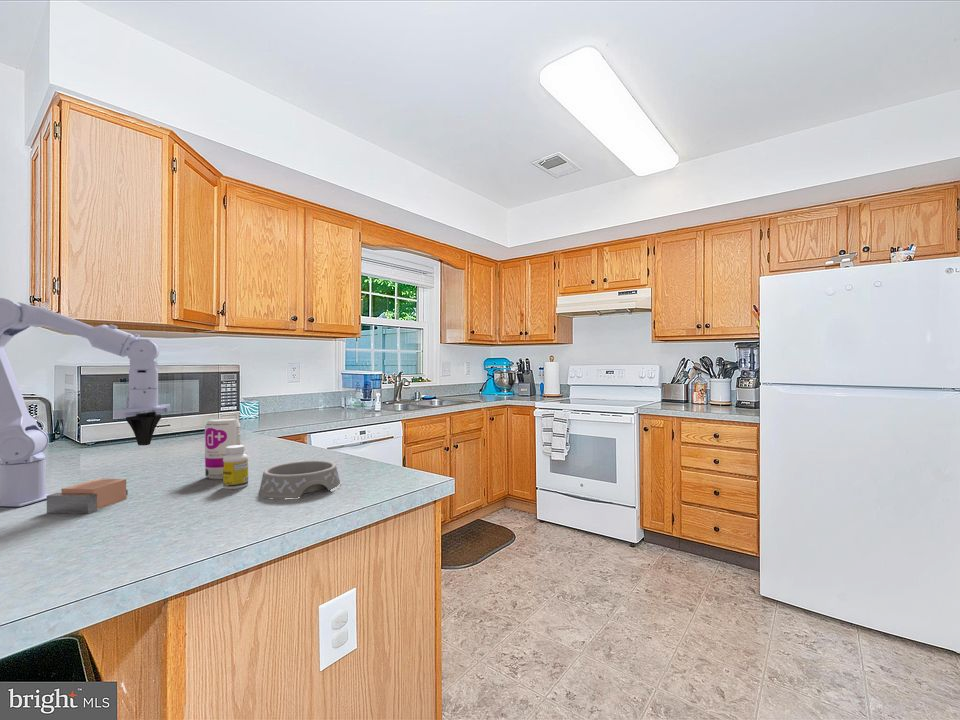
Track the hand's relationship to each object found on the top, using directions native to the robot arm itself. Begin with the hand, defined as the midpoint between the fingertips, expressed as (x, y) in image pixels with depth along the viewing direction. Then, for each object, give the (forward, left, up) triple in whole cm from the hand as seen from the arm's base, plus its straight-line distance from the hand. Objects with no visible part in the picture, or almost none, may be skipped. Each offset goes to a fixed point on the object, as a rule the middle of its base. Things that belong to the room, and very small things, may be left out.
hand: (144, 444), depth 111 cm
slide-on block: (0, -13, -10) cm, 17 cm away
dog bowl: (+39, +1, -11) cm, 40 cm away
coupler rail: (0, -12, -10) cm, 16 cm away
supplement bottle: (+22, +2, -11) cm, 25 cm away
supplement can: (+12, +12, -11) cm, 20 cm away
